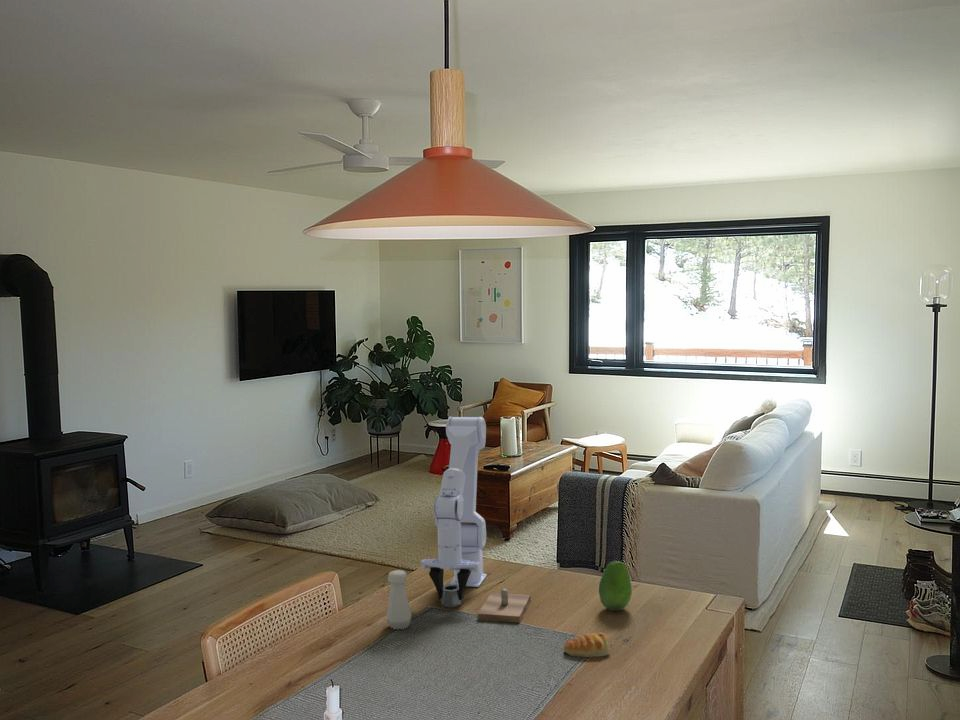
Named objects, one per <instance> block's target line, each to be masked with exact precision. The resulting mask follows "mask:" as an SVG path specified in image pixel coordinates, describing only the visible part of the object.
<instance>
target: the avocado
mask: <svg viewBox="0 0 960 720" xmlns="http://www.w3.org/2000/svg"><path fill="white" fill-rule="evenodd" d="M598 584H599V585H598V594H599V599H600V602H601V604H602V605H603V607H605V608H606V609H608V610H609V611H613V612H617V611H618V612H619V611H621V610H624V609H625V608H626V607H627V606H628V605H629V603H630V601H631V596H632V582H631V579H630V575H629V569H628V568H627V566H626V564H625V562H623V561H620V560H612V561H610V562H609V563H608V564H607V566H606V568H605V569H604V571H603V573H602V576H601V577H600V581H599V583H598Z"/></svg>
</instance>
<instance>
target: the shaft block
mask: <svg viewBox="0 0 960 720" xmlns="http://www.w3.org/2000/svg"><path fill="white" fill-rule="evenodd" d="M530 603H531V594H520V593H509V590H508V588H501V589H500V592H490V594H489V596H488V597H487V599H486V600H485V602H484V604H483V605H482V606H481V607H480V609H479V611H478V612H477V620H478V619H480V620H479V621H487V620H491V622H501V621H505V622H504V623H515V624H516V623H521V621H522V619H523V617H524V615H525V613H526V612H527V609H528V607H529V605H530Z"/></svg>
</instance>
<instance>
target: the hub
mask: <svg viewBox="0 0 960 720" xmlns="http://www.w3.org/2000/svg"><path fill="white" fill-rule="evenodd" d="M440 601H441V602H440V603H441V605H442V606H443V607H445V608H454V606H456V607H459V606H460V605H461V604H462V600H459V586H458V585H450V584H445V585H443V587H442V588H441V599H440ZM458 605H459V606H458Z"/></svg>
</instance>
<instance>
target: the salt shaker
mask: <svg viewBox="0 0 960 720" xmlns="http://www.w3.org/2000/svg"><path fill="white" fill-rule="evenodd" d="M387 575H388V576H387V581H388V583H390V587H389V595H388V602H387V603H388V604H387V609H386V610H387V611H386V616H385V619H386V622H387V624H388V626H389V628H390V627H391V628H390V629H392V628H393V629H392V630H394V629H403V628H405V627H407V626H408V627H409V625H410V622H411V620H412V611H411V607H410V601H409V599H408V594H407V589H406V586H405V585H406V584H405V583H406V582H407V579H408V575H407V572H406V571H404V570H402V569H396V570H395V569H394V570H392V571H390V572H389V573H388V574H387ZM408 627H407V628H408ZM405 629H406V628H405ZM403 630H404V629H403Z"/></svg>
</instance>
